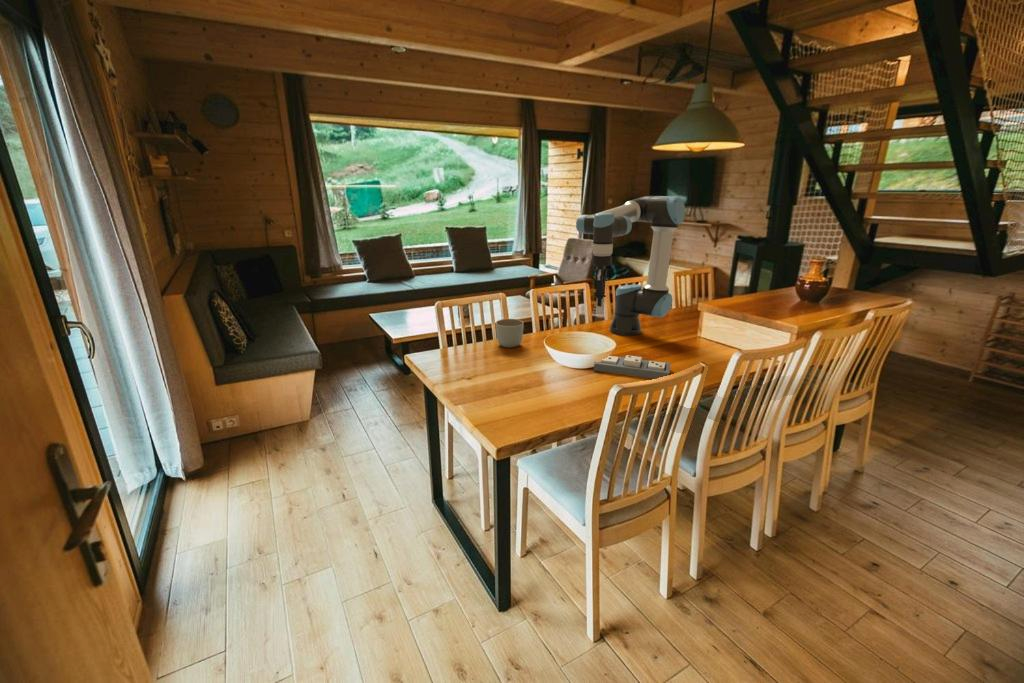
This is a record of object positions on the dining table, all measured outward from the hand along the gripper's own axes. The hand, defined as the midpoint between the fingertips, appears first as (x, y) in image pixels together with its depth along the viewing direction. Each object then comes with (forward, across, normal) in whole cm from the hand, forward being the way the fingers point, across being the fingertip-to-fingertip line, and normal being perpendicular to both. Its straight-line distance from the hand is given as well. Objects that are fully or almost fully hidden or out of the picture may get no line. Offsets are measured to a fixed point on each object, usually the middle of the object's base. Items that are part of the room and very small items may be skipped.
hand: (599, 313), depth 189 cm
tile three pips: (+19, +7, +24) cm, 31 cm away
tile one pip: (+19, +6, +6) cm, 21 cm away
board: (+20, +6, +15) cm, 26 cm away
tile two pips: (+18, +6, +15) cm, 24 cm away
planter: (+20, -6, -41) cm, 46 cm away
